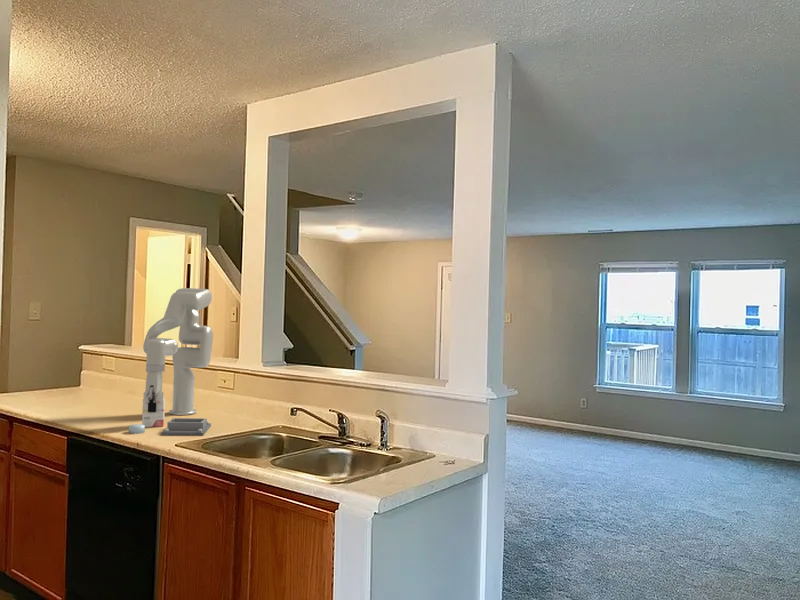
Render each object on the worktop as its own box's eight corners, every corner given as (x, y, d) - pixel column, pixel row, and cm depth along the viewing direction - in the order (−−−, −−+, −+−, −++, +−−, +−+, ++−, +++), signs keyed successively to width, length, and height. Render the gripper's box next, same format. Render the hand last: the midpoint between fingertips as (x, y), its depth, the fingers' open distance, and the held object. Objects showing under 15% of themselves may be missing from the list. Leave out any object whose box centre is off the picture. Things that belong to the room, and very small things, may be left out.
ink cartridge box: (164, 424, 274) (165, 390, 274) (163, 426, 269) (164, 392, 269) (143, 424, 271) (144, 390, 271) (141, 426, 266) (143, 392, 267)
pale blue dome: (131, 431, 258) (131, 424, 258) (146, 431, 259) (146, 424, 259) (126, 434, 252) (127, 427, 252) (142, 434, 253) (142, 427, 253)
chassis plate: (172, 425, 271) (172, 416, 271) (210, 426, 273) (211, 416, 273) (161, 435, 251) (162, 424, 251) (203, 435, 254) (203, 425, 254)
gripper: (151, 366, 278) (149, 407, 278) (140, 370, 261) (139, 414, 261) (168, 366, 279) (167, 407, 279) (159, 370, 262) (157, 414, 262)
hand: (153, 410), depth 270 cm, fingers closed on ink cartridge box, 5 cm apart
